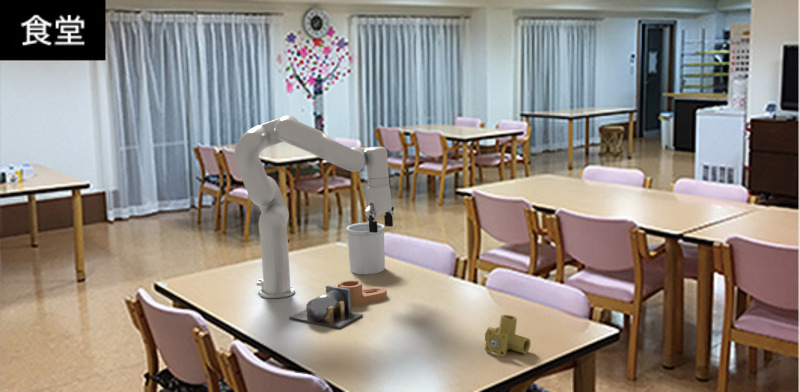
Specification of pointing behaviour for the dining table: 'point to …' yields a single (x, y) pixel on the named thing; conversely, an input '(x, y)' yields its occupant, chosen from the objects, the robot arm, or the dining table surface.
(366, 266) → the utensil holder
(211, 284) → the dining table surface
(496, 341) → the ball valve
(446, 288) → the dining table surface
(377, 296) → the bracket
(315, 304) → the pipe stub
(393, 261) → the dining table surface
